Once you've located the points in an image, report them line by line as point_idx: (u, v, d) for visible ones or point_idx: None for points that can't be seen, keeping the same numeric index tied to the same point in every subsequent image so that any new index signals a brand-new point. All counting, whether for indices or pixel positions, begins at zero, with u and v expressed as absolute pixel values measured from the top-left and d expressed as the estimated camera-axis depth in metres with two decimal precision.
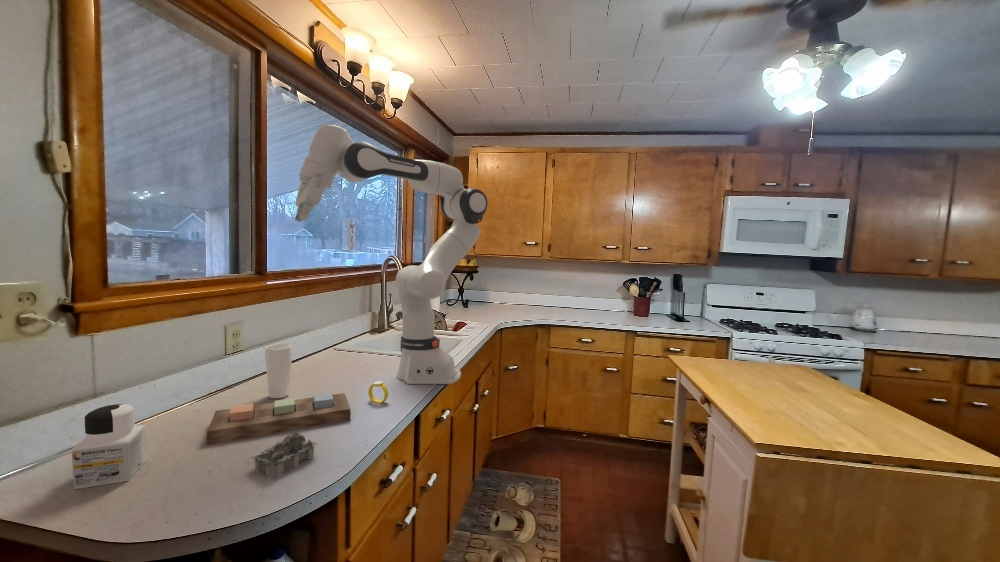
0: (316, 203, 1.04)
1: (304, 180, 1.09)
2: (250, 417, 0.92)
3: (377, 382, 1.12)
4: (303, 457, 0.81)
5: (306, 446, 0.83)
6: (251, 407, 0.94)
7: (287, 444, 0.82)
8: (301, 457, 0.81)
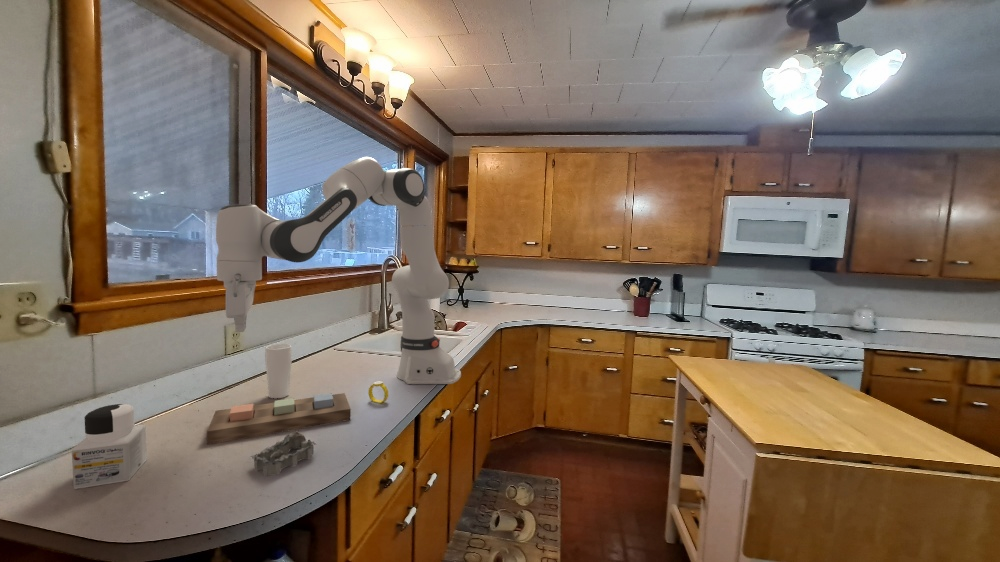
0: (242, 316, 0.83)
1: (225, 285, 0.88)
2: (250, 417, 0.92)
3: (377, 382, 1.12)
4: (302, 457, 0.81)
5: (306, 446, 0.83)
6: (251, 407, 0.94)
7: (287, 443, 0.83)
8: (300, 457, 0.81)
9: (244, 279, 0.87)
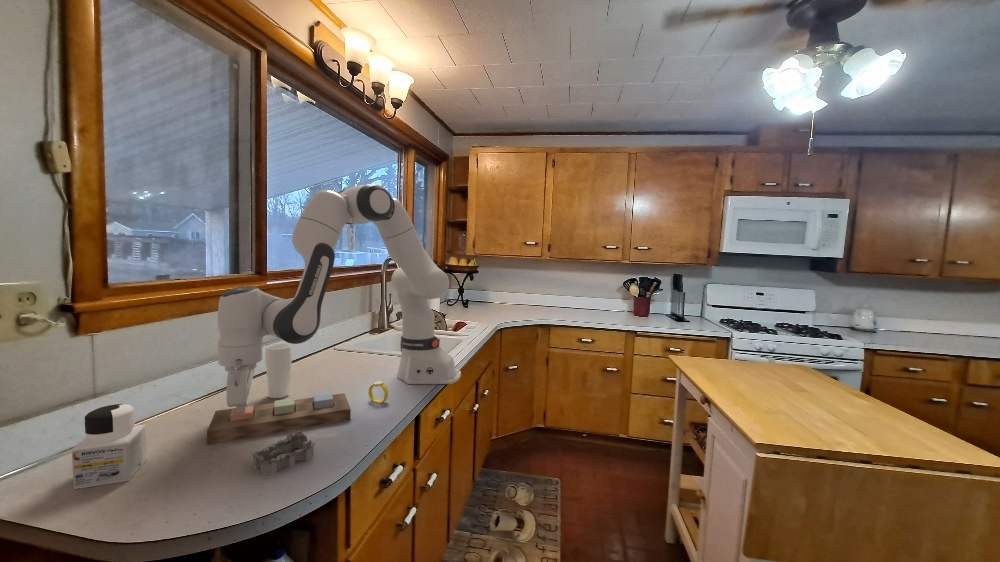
0: (243, 404, 0.85)
1: (226, 369, 0.89)
2: None
3: (377, 382, 1.12)
4: (301, 457, 0.81)
5: (306, 446, 0.83)
6: (251, 409, 0.94)
7: (289, 442, 0.83)
8: (299, 457, 0.80)
9: (245, 364, 0.89)
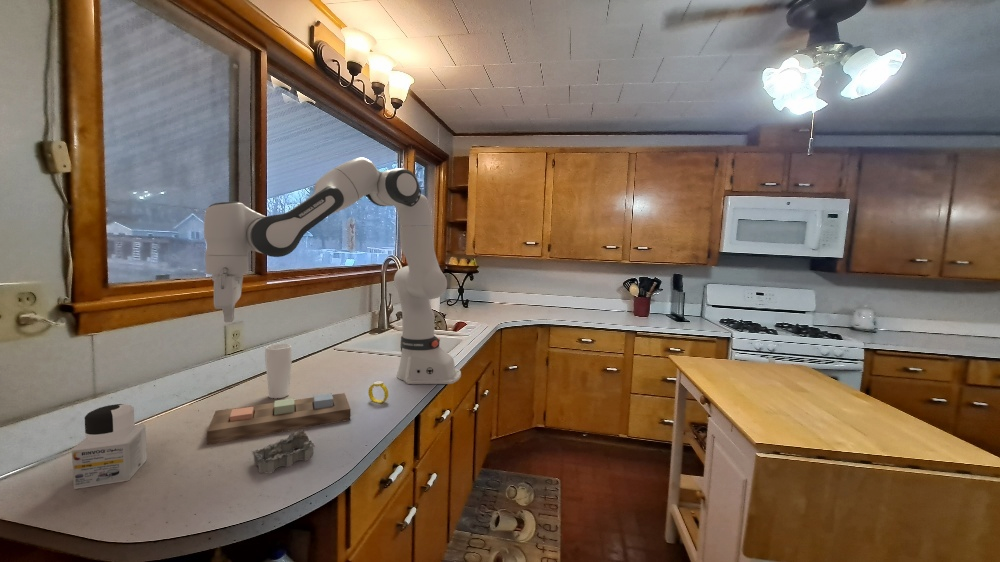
0: (229, 307, 0.89)
1: (213, 278, 0.93)
2: None
3: (377, 382, 1.12)
4: (300, 457, 0.81)
5: (306, 446, 0.83)
6: (251, 410, 0.94)
7: (290, 442, 0.83)
8: (298, 457, 0.80)
9: (231, 272, 0.93)
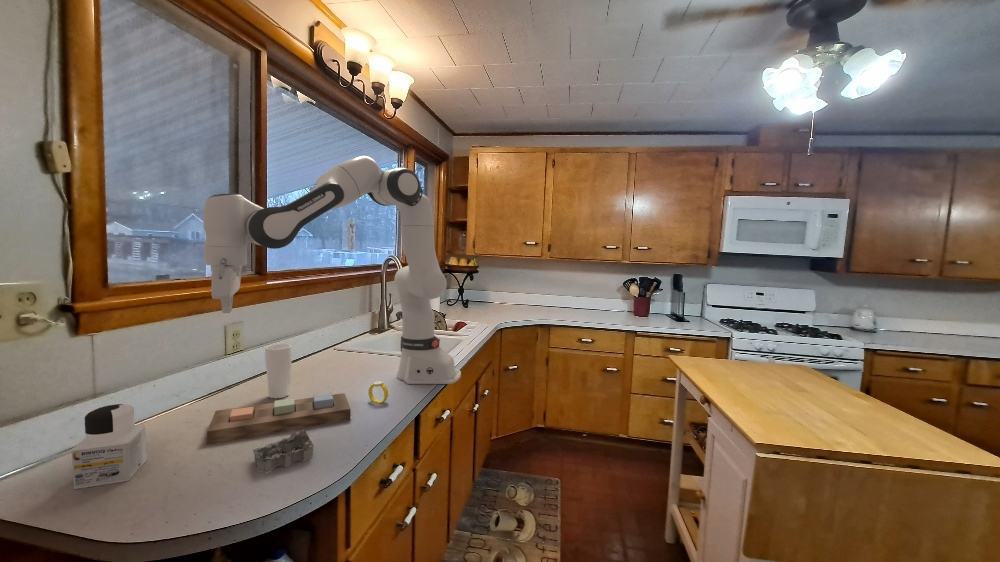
0: (227, 297, 0.90)
1: (212, 269, 0.94)
2: None
3: (377, 382, 1.12)
4: (299, 458, 0.80)
5: (307, 447, 0.83)
6: (251, 410, 0.94)
7: (291, 441, 0.84)
8: (297, 457, 0.80)
9: (230, 264, 0.94)
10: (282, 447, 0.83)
